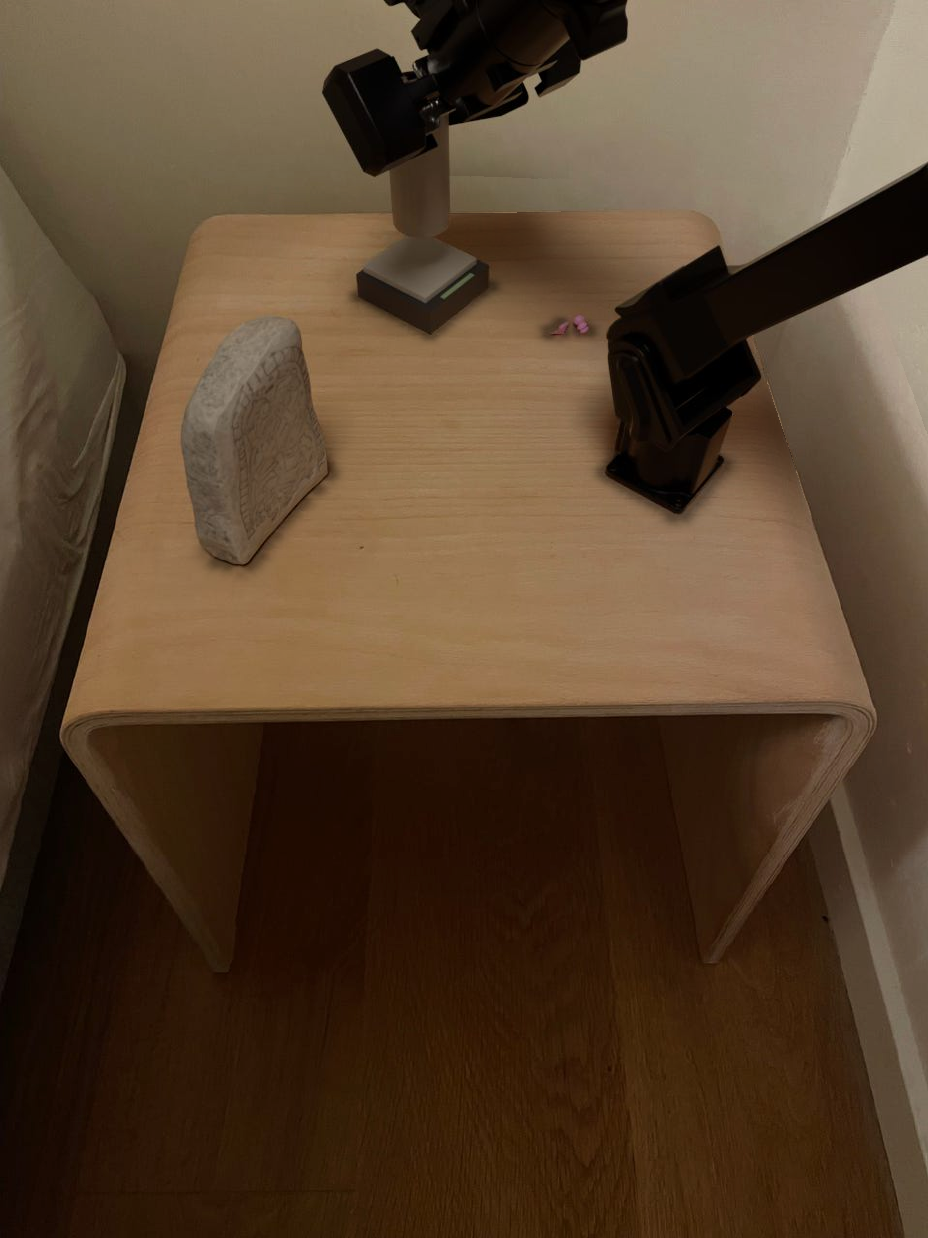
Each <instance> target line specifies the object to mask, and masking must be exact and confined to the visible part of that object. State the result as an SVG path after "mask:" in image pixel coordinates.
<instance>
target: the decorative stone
mask: <svg viewBox="0 0 928 1238" xmlns="http://www.w3.org/2000/svg"><path fill="white" fill-rule="evenodd" d="M306 361H307V360H306V357H305V353H304V351H303V338H302V333H301V330H300V328H299V326H298V325H297V322H295V321H294V320H293V319H290V318H289V317H282V316H275V315H261V316H256V317H255V318H253V319H250V320H247V321H245V322H243V323H240V324H239V325H237V327H236V328H234V330H232V331H231V332H230V333H229V334H228V335H227V336H225V337H224V338H223V339H222V341H221V342H220V344H219V346H218V348H217V349H216V352H215V353H214V354H213V356H212V358H211V359H210V361H209V363H208V364H207V366H206V367H205V368H204V371H203V372H202V373H201V376H200V378H199V379H198V381H197V383H196V385H195V387H194V388H193V391H192V393H191V395H190V397H189V399H188V401H187V403H186V405H185V407H184V408H185V409H184V413H183V417H182V421H181V426H180V427H181V429H180V449H181V453H182V459H183V465H184V472H185V479H186V480H185V481H186V487H187V490H188V495H189V498H190V502H191V505H192V512H193V518H194V529H195V534H196V536H197V539H198V541H199V544H200V545H201V546H202V547H203V548H204V550H206V551H207V552H208V553H209V554H210V555H211V556H212V557H215V558H217V559H219V560H221V561H226V562H229V563H230V564H234V565H245V564H247V563H249V562H250V560H251V559H252V558H253V556H254V555H255V554H256V553H257V551H258V550H259V549H260V547H261V546H262V544H263V543H264V542H265V541H266V539H267V538H268V537H269V536H271V534H272V533H274V532H275V531H276V530H277V528H278V526H279V525H280V524H282V523H283V521H284V520H285V518H286V517H287V516H288V515H289V513H290V512H291V511H292V510H293V509H294V508H295V507H296V506H297V504H299V502H301V500H302V499H303V498H304V497H305V496H306V495H307V494H308V493H309V492H310V491H311V490H312V489H313V488H314V487H316V486H317V485H318V484H319V483H320V482H321V481H322V480H323V479H324V478H325V477H326V476H327V475H328V472H329V470H328V459H327V451H326V450H327V449H326V440H325V436H324V433H323V428H322V426H321V424H320V422H319V419H318V416H317V413H316V410H315V405H314V401H313V397H312V387H311V386H312V385H311V384H312V383H311V378H310V373H309V369H308V365H307V362H306Z"/></svg>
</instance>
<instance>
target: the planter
mask: <svg viewBox="0 0 928 1238" xmlns="http://www.w3.org/2000/svg"><path fill="white" fill-rule="evenodd" d="M402 73H403V75H404V76H406V77H407V79H408V81H409V80H413V79H415V78H417V79H418V80H419V78H418V77H417V76H416V74H415V72H414V70H409V71H402ZM426 76H428V74H427V75H426ZM426 76H425V77H426ZM423 77H424V76H423ZM423 77H422V78H423ZM440 97H441V95H440V96H438V97H436V98H434V99H431V100H429V101H428V102H429V103H430V102H431V101H433V102H434V100H435V99H439V98H440ZM440 120H441V124H440V127H439V129H438V130H437V131H436V132H434V133H432V134H433V136H434V138H435V140H436V142H437V144H438V147H436V148H434V149H432V150H430V151H428V152H426V153H424V154H422V155H420V156H418V157H416V158H414V159H411V160H408V161H407V162H405V163H403V164H401V165H399V166H397V167H395V168H393V169H391V170H388V172H389V174H388V175H389V186H390V187H389V188H390V202H391V203H390V204H391V215H392V224H393V226H394V229H395V230H396V231H398V233H400V234H402V235H403V236H405V235H406V236H409V237H414V238H428V237H435V236H438V235H440V234H442V233H444V232H445V231H446V230H447V229H448V228H449V226H450V223H451V185H450V184H451V182H450V180H451V177H450V176H451V175H450V126H449V113H448V114H446V115H443V116H441V117H440Z"/></svg>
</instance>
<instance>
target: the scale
mask: <svg viewBox="0 0 928 1238" xmlns="http://www.w3.org/2000/svg"><path fill="white" fill-rule="evenodd" d="M355 279H356V287H357V289H356V290H357V296H358V297H359V298H361V299H363V300H364V301H366V302H368V303H370V304H372V305H374V306H376V307H378V308H379V309H381V310H384V311H386V312H387V313H389V314H391V315H393V316H395V317H397V318H398V319H401V320H402V321H404V322H406V323H408V324H410V325H412V326H414V327H415V328H417V329H419V330H422V331H423V332H424V333H427V334H429V335H431V334H432V333H434V332H435V331H436V330H437V329H438V328H440V327H441V326H442V325H443V324H445V323H446V322H448V321H449V320H450V319H451V318H452V317H453V316H454V315H456V314H457V313H458V312H460V311H461V310H462V309H463V308H465V307H466V306H467V305H469V304H470V303H471V302H473V300H475V299H476V298H477V297H478V296H480V295H482V293H483V292H484V291H486V290H487V289H488V288H489V286H490V264H488V263H486V262H484V261H481V259H477V257H475V256H473V255H472V254H469V253H467V252H465V251H463V250H461V249H459V248H456V247H454V246H453V245H451V244H448V243H447V242H444V241H443V240H440V239H438V238H436V237H435V236H433V237H428V238H414V237H409V236H406V235H403V236H402V237H401V238H400V239H398V240H397V241H395V242H394V243H392V244H391V245H389V246H388V247H386V249H384V250H383V251H382V252H380V253H378V254H377V255H376V256H374V257H373V258H371V259H370V260H369V261H367V262H366V263H364V264H363V265H362V269H361V270H360V271H358V272H356V273H355Z"/></svg>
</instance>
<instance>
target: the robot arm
mask: <svg viewBox="0 0 928 1238" xmlns="http://www.w3.org/2000/svg"><path fill="white" fill-rule="evenodd" d="M383 2H384V3H385V4H386V5H387V6H388V7H394V6H397V5H399V4H404V5H405V6H406V7H407V9H408V10H409V11H410V13H412V14H413V15H414V16H415V17H416V18H418V19H419V20H418V21H417V22H416V24H415V25H414V26H413V27H412V29H411V30H410V33H411V35H412V37H413V39H414V41H415V43H416V46H417V47H418V49H419V51H421V52H422V51H424V50H426V52H427V55H425V56H422V57H419V58H417V59H415V60H414V61H413V62H412V64H411V69H412V71H414V72H415V74H416V76H417V77H418V78H419V80H418V79H417V78H415V79H413V80H409V81H408V79H407V77H406V76H404V75H403V73H402V72H403V71H402V69H401V67H400V66H399V63H398V61H397V60H396V57H395V56H394V55H392V56H391V54H389V53H387V52H385V51H383V50H381V49H379V48H378V47H377V48H374V49H372V50H370V51H367V52H364V53H362V54H360V55H356V56H354V57H352V58H350V59H348V60H345V61H342V62H340V63H338V64H336V65H334V66H333V67H332V68H331V70H330V72H329V73H328V74H327V76H326V77H325V79H324V80H323V85H322V89H321V94H322V96H323V98H324V100H325V102H326V104H327V105H328V107H329V110H330V111H331V113H332V115H333V117H334V119H335V120H336V121H335V122H337V125H338V126H339V128H340V130H341V132H342V134H343V136H344V138H345V141H346V142H347V144H348V146H349V147H350V149H351V151H352V153H353V155H354V157H355V159H356V160H357V162H358V164H359V166H360V168H361V170H362V172H363V173H365V174H367V175H369V176H371V177H373V178H377V177H378V176H380V175H382V174H384V173H387V172H389V170H391V169H393V168H395V167H397V166H399V165H401V164H403V163H405V162H407V161H408V160H411V159H414V158H416V157H418V156H420V155H422V154H424V153H426V152H428V151H430V150H432V149H434V148H436V147H438V144H437V142H436V140H435V138H434V136H433V134H432V133H434V132H436V131H437V130H438V129H439V127H440V124H441V120H440V117H441V116H443V115H446V114H448V113H449V127H450V126H457V125H460V124H461V125H463V124H466V123H471V122H477V121H483V120H489V119H495V118H499V117H503V116H506V115H507V114H509V113H511V112H513V111H516V110H517V109H519V108H521V107H524V106H526V105H527V104H528V103H529V99H530V96H529V92H528V89H527V88H526V85H525V83H524V81H525V80H526V79H528V78H530V77H533V76H535V75H537V74H538V77H539V79H540V82H539V83H537V84H536V86H534V91H535V93H536V96H537V97H538V98H539V99H540V98H542V97H545V96H546V95H548V94H550V93H553V92H556V91H557V90H559V89H561V88H563V87H565V86H566V85H568V83H570V82H571V81H572V80H573V79H574V78H576V77H577V76H578V75H579V74H580V73H581V66H582V61H583V62H584V61H587V60H589V59H592V58H593V57H596V56H598V55H600V54H602V53H604V52H606V51H609V50H611V49H613V48H615V47H617V46H619V45H622V44H624V43H625V42H626V41H627V40H628V31H629V19H628V15H627V12H626V10H627V4H628V0H383ZM427 74H428V76H426V75H427ZM423 76H424V77H423ZM425 76H426V77H425ZM422 77H423V78H422ZM440 95H441V97H440V98H439V99H435V100H434V102H433V101H431V102H430V103H429V102H428V101H429V100H431V99H434V98H436V97H438V96H440ZM926 257H928V161H926V162H924V163H923V164H921V165H919V166H917V167H916V168H914V169H912V170H911V171H908V172H906V173H904V174H903V175H901V176H900V177H898V178H896V179H894V180H892V181H891V182H888V183H887V184H885V185H883V186H882V187H880V188H878V189H876V190H874V191H873V192H871V193H869V194H867V195H865V196H864V197H862V198H860V199H859V200H857V201H855V202H852V203H851V204H849V205H847V206H846V207H844V208H842V209H840V210H839V211H836V212H835V213H834V214H832V215H830V216H828V217H827V218H825V219H823V220H821V221H819V222H818V223H815V224H814V225H812V226H810V227H808V228H807V229H805V230H803V231H802V232H800V233H798V234H796V235H794V236H793V237H791V238H790V239H787V240H786V241H784V242H782V243H781V244H778V245H777V246H775V247H773V248H771V249H770V250H768V251H766V252H764V253H763V254H761V255H759V256H757V257H755V258H753V259H751V260H750V261H748V262H746V263H742V264H739V265H736V264H735V265H727V262H726V260H725V257H724V253H723V251H722V248H721V245H720V244H718V245H716V246H714V247H713V248H711V249H709V250H708V251H706V252H705V253H703V254H702V255H700V256H698V257H696V258H695V259H694V260H692V261H690V262H689V263H687V264H686V265H682V266H680V267H679V268H677V269H675V270H674V271H672V272H671V273H669V274H667V275H666V276H664V277H662V278H660V279H659V280H658V281H656V282H654V283H653V284H651V285H650V286H648V287H646V288H645V289H643V290H641V291H640V292H638V293H637V294H635V295H633V296H632V297H630V298H628V299H627V300H625V301H624V302H622V303H621V304H619V305H617V306H615V307H614V313H615V314H616V315H618V316H619V318H617V319H616V320H614V321H613V322H612V323H611V325H609V326H608V329H607V331H606V333H605V338H606V340H607V367H608V373H609V382H610V387H611V388H610V389H611V396H612V403H613V404H612V405H613V411H614V415H615V417H616V418H617V419H618V420H619V421H618V425H617V431H616V435H615V441H614V445H613V449H614V451H615V452H616V453H617V454H616V455H615V456H614V457H613V458H612V459H611V461H609V462H608V464H607V465H606V467H605V474H606V476H608V477H610V478H611V479H613V480H615V481H617V482H618V483H621V484H622V485H624V486H626V487H628V488H630V489H631V490H634V491H635V492H637V493H639V494H641V495H643V496H644V497H646V498H647V499H650V500H652V501H653V502H655V503H657V504H659V505H661V506H662V507H665V508H666V509H668V510H670V511H672V512H674V513H676V514H681V513H683V512H684V511H686V509H687V508H688V507H689V506H690V505H691V504H692V502H693V501H694V499H696V498H697V497H698V495H699V494H700V493H701V491H703V489H704V488H705V487H706V486H707V484H708V483H709V482H710V481H711V480H712V479H713V478H714V476H715V475H716V474H717V473H718V472H719V470H721V468H722V467H723V465H724V463H725V458H724V456H723V455H722V454H720V452H721V449H722V446H723V443H724V441H725V437H726V435H727V432H728V429H729V426H730V423H731V420H732V418H733V414H734V411H733V410H732V409H731V408H729V406H730V405H732V404H733V403H735V402H736V401H738V399H740V398H743V397H745V396H746V395H747V394H749V393H750V392H751V390H753V389H754V388H755V387H756V385H758V383H759V382H760V381H761V380H762V374H761V370H760V369H759V366H758V363H757V361H756V359H755V357H754V354H753V352H752V350H751V347H750V345H749V343H748V340H747V339H748V338H750V337H752V336H754V335H757V334H759V333H761V332H764V331H766V330H768V329H771V328H773V327H774V326H776V325H779V324H781V323H783V322H785V321H788V320H789V319H792V318H794V317H796V316H798V315H801V314H803V313H805V312H807V311H809V310H812V309H814V308H816V307H818V306H820V305H822V304H825V303H827V302H829V301H831V300H834V299H835V298H838V297H840V296H842V295H845V294H847V293H849V292H851V291H853V290H855V289H857V288H860V287H862V286H864V285H866V284H868V283H870V282H873V281H875V280H877V279H879V278H882V277H884V276H886V275H889V274H890V273H892V272H895V271H897V270H900V269H901V268H904V267H906V266H908V265H910V264H912V263H914V262H917V261H919V260H921V259H923V258H926Z"/></svg>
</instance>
